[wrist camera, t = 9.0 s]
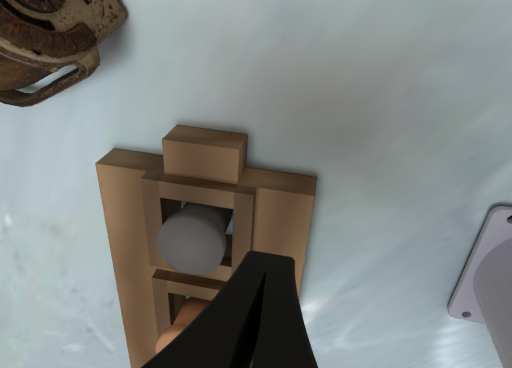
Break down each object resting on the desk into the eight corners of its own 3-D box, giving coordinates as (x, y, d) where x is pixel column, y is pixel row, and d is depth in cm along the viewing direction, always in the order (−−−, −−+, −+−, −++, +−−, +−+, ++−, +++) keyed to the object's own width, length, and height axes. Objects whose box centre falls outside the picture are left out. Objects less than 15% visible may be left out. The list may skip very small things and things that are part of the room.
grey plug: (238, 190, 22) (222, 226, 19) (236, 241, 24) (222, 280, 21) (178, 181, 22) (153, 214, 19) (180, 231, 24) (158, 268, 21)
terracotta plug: (229, 297, 24) (214, 342, 21) (228, 335, 26) (214, 381, 23) (175, 286, 25) (153, 330, 22) (178, 324, 26) (157, 369, 24)
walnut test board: (322, 143, 20) (319, 168, 18) (281, 405, 32) (276, 440, 30) (109, 116, 22) (80, 135, 19) (146, 374, 34) (131, 405, 32)
